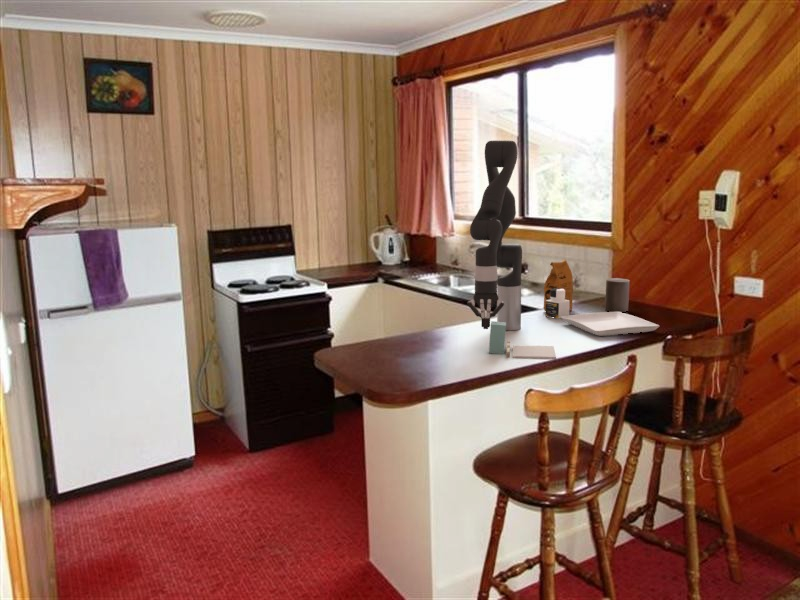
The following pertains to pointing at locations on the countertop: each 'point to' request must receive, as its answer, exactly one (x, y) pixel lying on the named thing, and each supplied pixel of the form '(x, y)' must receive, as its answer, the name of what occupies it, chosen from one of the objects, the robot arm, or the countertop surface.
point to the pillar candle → (617, 295)
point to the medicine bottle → (557, 304)
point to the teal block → (497, 337)
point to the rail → (508, 349)
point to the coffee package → (559, 281)
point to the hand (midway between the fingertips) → (485, 328)
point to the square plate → (610, 323)
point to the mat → (533, 352)
